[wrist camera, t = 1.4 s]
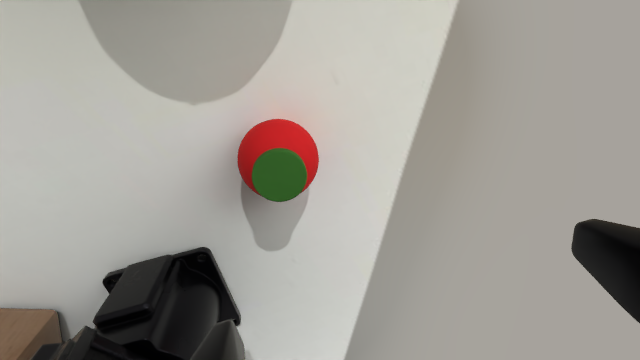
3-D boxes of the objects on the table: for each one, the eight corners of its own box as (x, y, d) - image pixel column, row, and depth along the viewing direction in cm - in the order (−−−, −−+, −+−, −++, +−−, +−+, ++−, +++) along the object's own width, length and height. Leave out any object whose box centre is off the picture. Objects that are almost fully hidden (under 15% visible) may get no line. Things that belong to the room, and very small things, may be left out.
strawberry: (320, 170, 18) (333, 204, 14) (254, 188, 18) (249, 227, 14) (303, 103, 17) (313, 121, 13) (231, 122, 17) (217, 146, 13)
